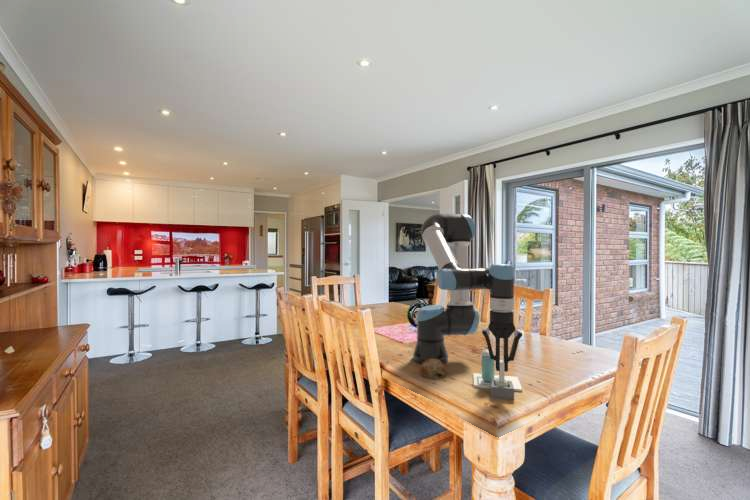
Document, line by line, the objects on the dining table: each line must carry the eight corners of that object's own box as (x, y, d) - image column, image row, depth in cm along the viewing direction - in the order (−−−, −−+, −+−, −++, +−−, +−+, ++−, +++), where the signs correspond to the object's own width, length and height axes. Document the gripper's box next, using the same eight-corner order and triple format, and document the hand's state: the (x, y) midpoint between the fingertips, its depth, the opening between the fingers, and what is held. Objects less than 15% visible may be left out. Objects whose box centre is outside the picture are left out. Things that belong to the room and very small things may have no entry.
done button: (495, 394, 116) (495, 382, 116) (495, 390, 120) (495, 378, 120) (508, 396, 115) (508, 384, 115) (507, 391, 119) (507, 379, 119)
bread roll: (426, 388, 132) (431, 372, 129) (413, 369, 140) (418, 353, 137) (448, 384, 136) (453, 368, 133) (434, 366, 144) (439, 350, 141)
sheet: (473, 387, 124) (473, 384, 124) (473, 375, 136) (473, 372, 136) (522, 391, 120) (522, 389, 120) (517, 379, 131) (517, 376, 131)
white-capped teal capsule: (481, 382, 126) (481, 352, 125) (481, 378, 130) (481, 349, 130) (494, 384, 124) (494, 353, 124) (494, 379, 129) (494, 350, 128)
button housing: (491, 397, 115) (491, 386, 115) (490, 389, 122) (490, 379, 122) (514, 399, 114) (514, 388, 113) (511, 391, 120) (511, 381, 120)
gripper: (481, 311, 116) (481, 382, 116) (524, 313, 112) (524, 386, 112) (480, 307, 123) (481, 374, 123) (520, 309, 120) (521, 378, 120)
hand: (501, 380), depth 118 cm, fingers closed
